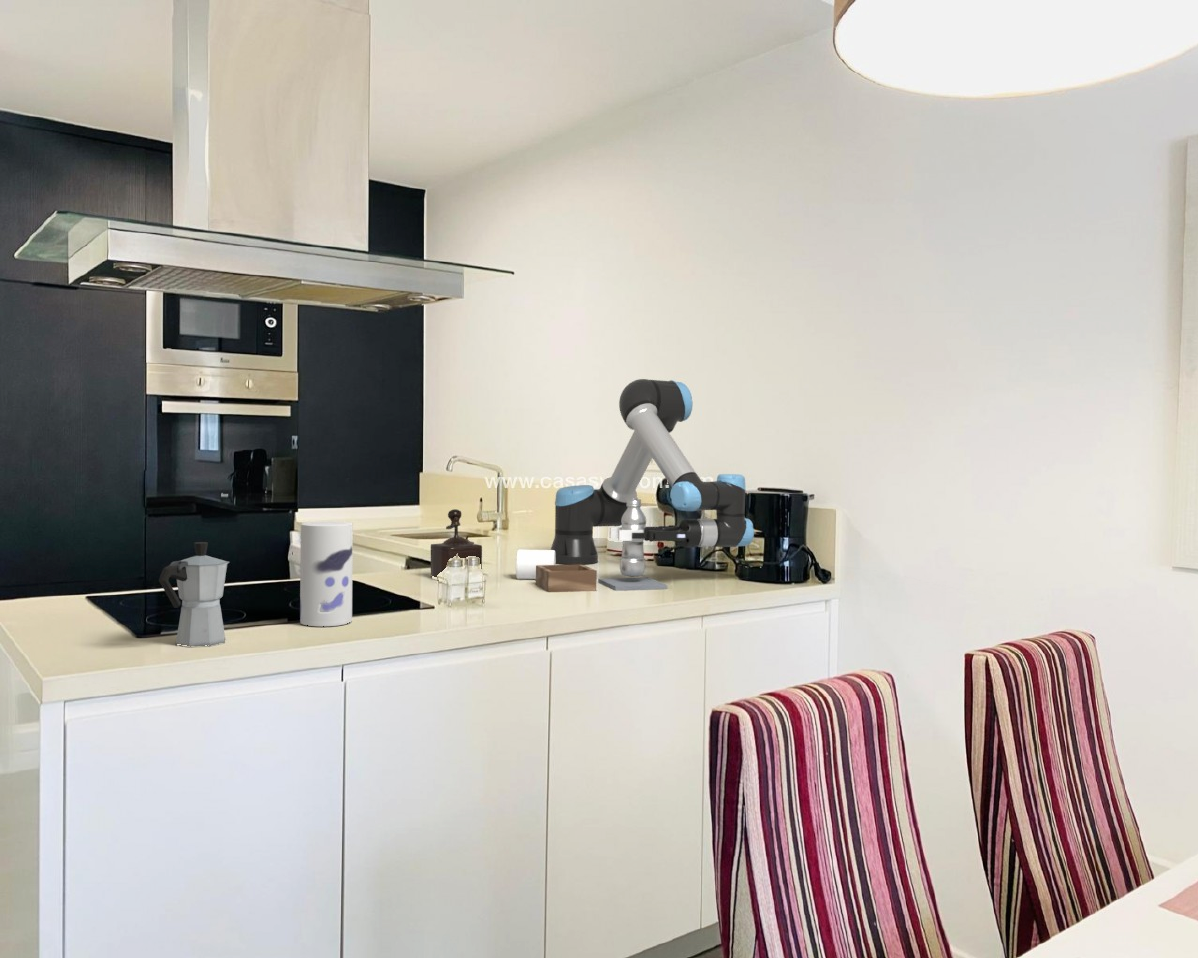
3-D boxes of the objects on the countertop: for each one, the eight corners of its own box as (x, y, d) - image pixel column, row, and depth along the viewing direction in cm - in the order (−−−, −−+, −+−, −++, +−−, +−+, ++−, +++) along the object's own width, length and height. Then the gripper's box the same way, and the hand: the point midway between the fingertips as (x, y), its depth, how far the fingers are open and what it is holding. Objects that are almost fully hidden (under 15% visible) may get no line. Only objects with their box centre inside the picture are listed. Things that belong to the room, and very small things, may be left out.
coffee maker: (211, 633, 181) (211, 537, 180) (246, 638, 177) (246, 540, 177) (142, 648, 168) (142, 544, 167) (178, 654, 164) (178, 548, 163)
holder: (535, 584, 250) (536, 565, 250) (581, 583, 254) (582, 564, 253) (548, 592, 238) (548, 571, 238) (596, 590, 242) (596, 570, 242)
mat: (598, 582, 256) (598, 578, 256) (647, 580, 260) (647, 577, 260) (615, 590, 243) (615, 586, 243) (667, 588, 247) (667, 584, 247)
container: (324, 629, 187) (325, 526, 186) (289, 623, 192) (289, 522, 192) (362, 621, 196) (363, 522, 195) (327, 616, 201) (328, 519, 200)
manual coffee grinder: (485, 580, 256) (486, 512, 255) (447, 583, 249) (448, 513, 249) (457, 573, 268) (458, 508, 268) (420, 576, 262) (421, 509, 261)
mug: (553, 581, 256) (553, 551, 256) (515, 581, 256) (516, 551, 256) (556, 575, 268) (556, 546, 268) (520, 574, 268) (520, 546, 268)
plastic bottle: (615, 575, 253) (616, 498, 252) (638, 574, 256) (640, 498, 255) (625, 578, 247) (627, 500, 246) (649, 577, 250) (651, 500, 249)
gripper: (711, 551, 248) (626, 552, 240) (682, 543, 266) (602, 544, 259) (712, 522, 247) (627, 522, 240) (683, 516, 266) (603, 516, 258)
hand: (614, 534), depth 249 cm, fingers open, 6 cm apart
